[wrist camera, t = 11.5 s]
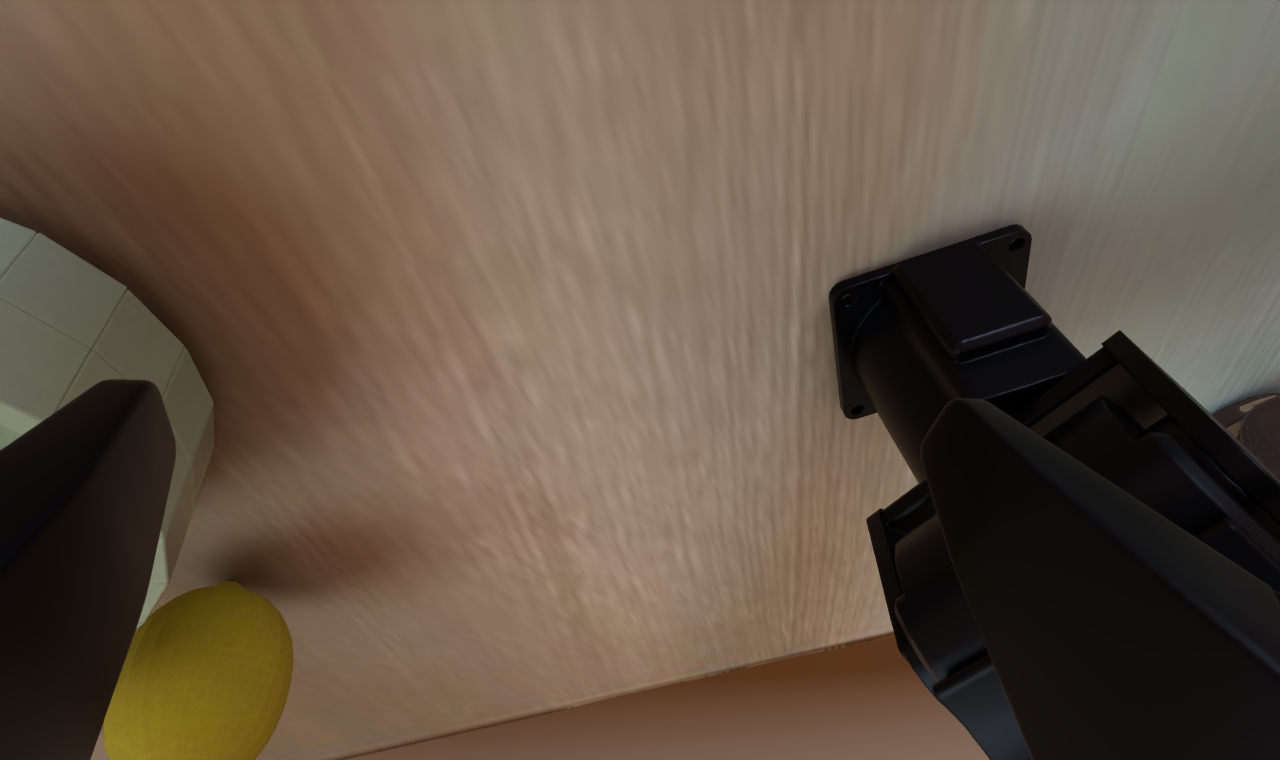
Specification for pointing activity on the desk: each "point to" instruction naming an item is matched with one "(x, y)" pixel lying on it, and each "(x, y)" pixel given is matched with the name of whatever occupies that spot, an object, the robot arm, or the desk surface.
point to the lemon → (202, 679)
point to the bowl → (96, 365)
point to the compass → (1256, 427)
